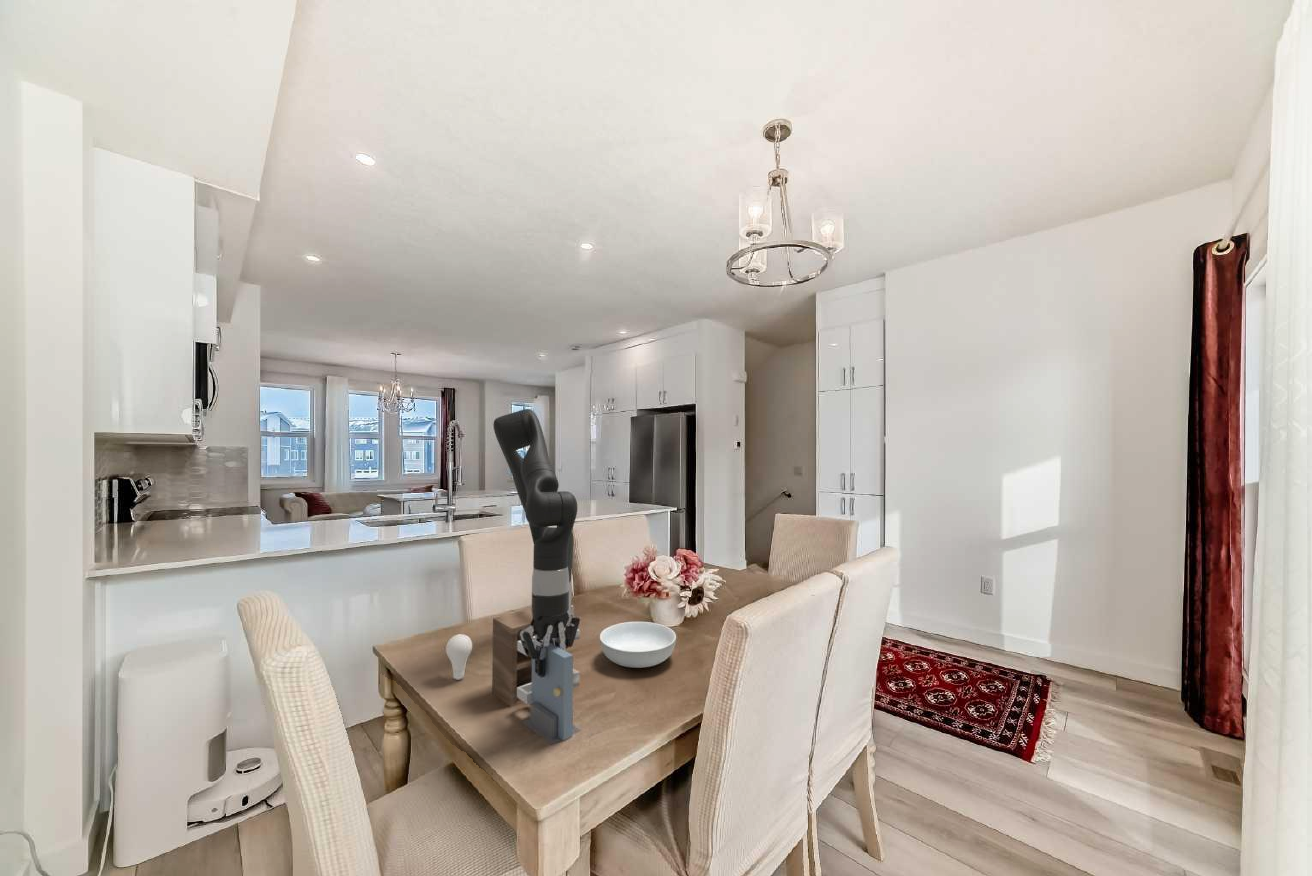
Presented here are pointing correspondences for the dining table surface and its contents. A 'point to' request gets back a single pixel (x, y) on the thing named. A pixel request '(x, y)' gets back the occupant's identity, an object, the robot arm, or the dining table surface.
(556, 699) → the cabinet door
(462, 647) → the lightbulb
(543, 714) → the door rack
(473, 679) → the dining table surface
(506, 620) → the cabinet
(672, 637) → the serving bowl
